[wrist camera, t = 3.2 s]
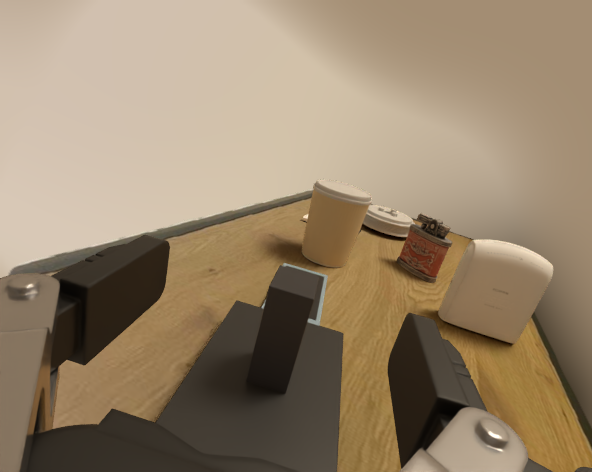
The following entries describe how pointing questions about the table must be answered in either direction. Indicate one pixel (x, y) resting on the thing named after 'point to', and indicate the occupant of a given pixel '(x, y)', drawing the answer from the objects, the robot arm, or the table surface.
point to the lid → (387, 221)
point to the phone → (319, 295)
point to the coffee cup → (334, 222)
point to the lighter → (425, 248)
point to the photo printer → (496, 289)
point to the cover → (266, 383)
